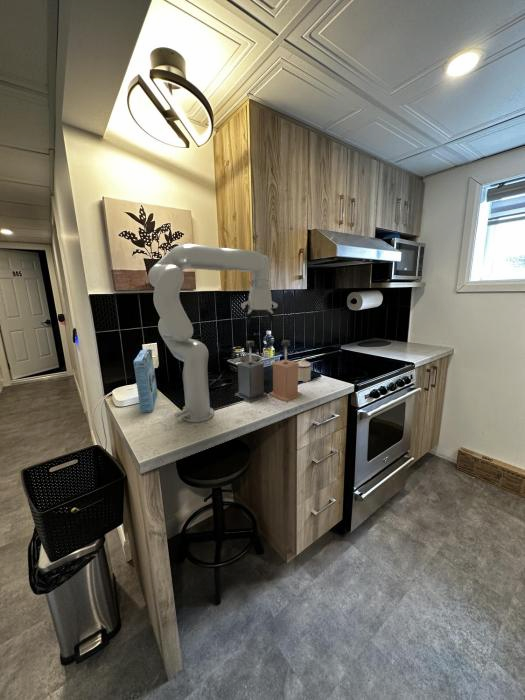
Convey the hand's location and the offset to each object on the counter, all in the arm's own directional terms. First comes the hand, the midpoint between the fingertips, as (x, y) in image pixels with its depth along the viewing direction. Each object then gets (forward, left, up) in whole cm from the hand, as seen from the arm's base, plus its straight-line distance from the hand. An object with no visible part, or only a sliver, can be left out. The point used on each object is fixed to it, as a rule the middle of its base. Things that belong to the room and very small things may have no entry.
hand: (259, 322), depth 125 cm
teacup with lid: (+29, -2, -35) cm, 45 cm away
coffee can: (+5, +13, -35) cm, 37 cm away
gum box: (-44, +27, -35) cm, 62 cm away
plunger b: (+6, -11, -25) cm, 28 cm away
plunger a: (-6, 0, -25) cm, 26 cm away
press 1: (-6, 0, -35) cm, 35 cm away
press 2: (+6, -11, -35) cm, 37 cm away
